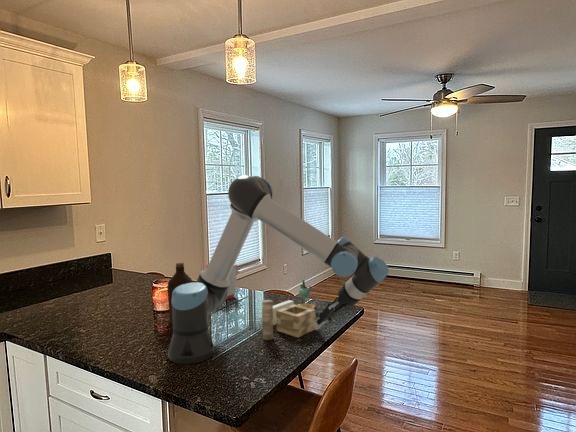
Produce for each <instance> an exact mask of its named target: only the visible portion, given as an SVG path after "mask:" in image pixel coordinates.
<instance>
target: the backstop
mask: <svg viewBox="0 0 576 432" xmlns="http://www.w3.org/2000/svg"><path fill="white" fill-rule="evenodd" d="M293 304H295V300H290V299H288V300H285V301H282V302H280V303H277V304H273V326H274V325H277V321H276V311H277V310H280V309H282V308H285V307H288V306H291V305H293Z"/></svg>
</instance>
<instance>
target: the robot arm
mask: <svg viewBox="0 0 576 432" xmlns="http://www.w3.org/2000/svg"><path fill="white" fill-rule="evenodd" d="M272 187H273V186H272V185H271V184H270V182H269V181H268V180H267V179H266V178H264V177H260V176H259V175H253V176H252V175H251V176H250V175H240V176H238V177H237V178H235V179H234V180H233V181H232V182H231V183H230V184H229V186H228V190H227V191H228V192H227V195H228V200H229V202H230V205H229V206H230V209H231V213H230V216H229V218H228V220H227V222H226V225H225V226H224V229H223V231H222V234H221V236H220V238H219V241H218V242H217V245H216V246H215V247H216V248H215V249H214V251H213V254H212V256H211V259H210V261H209V263H208V264H209V265H208V264H207V265H208V267H207V269H206V268H205V269H202V270H201V271H200V272H199V275H198V278H197V279H196V282H194V281H193V282H192V283H186V284H182V285H180V286H178V287H176V288H175V289H174V290H173V292H172V300H171V304H172V320H173V325H172V336H171V340H170V343H169V347H168V350H167V356H168V360H169V361H171V362H172V363H176V364H179V365H181V364H182V365H191V364H192V365H193V364H199V363H200V362H204V361H207V360H208V359H210V358H211V357H212V356H214V354H215V345H214V341H213V339H212V336H211V334H210V331H209V315H210V314H211V313H213V312H214V311H215V310H217V309H219V308H220V307H221V306H222V305H223V304H224V303H225V301H227V300H226V298H227V295H228V287H229V285H230V281H229V279H228V277H229V275H230V273H231V271H232V269H233V267H234V266H235V265H236V262H237V260H238V257H239V256H240V253H241V251H242V250H243V249H242V248H243V246H244V244H245V242H246V240H247V238H248V236H249V233H250V231H251V229H252V227H253V225H254V223H255V222H256V221H258V220H259V221H261V222H262V223H263V224H265V225H267V226H268V227H269V228H271V229H273V230H274V231H276V232H277V233H279V234H280V235H282V236H283V237H285V238H286V239H287V240H289V241H290V242H292V243H294V244H295V245H297V246H299V247H300V248H302V249H303V250H305V251H306V252H308V253H309V254H311V255H312V256H313V257H315V258H317V259H318V260H319V261H321V262H322V263H324V264H326V265H327V266H328V267H330V268H331V270H332V271H333V273H334V274H335V275H336V276H338V277H340V278H347V277H350V278H349V279H348V280H347V281H346V282H345V283H344V284H343V285H342V286H341V287H340V288H339V289H338V291H337V292H338V293H337V294H338V296H337V297H336V298H334V300H333V301H332V302H331V303H328V304H327V305H326V307H325V308H324V309H323V310H322V312H320V313H319V314H318V318H316V321H315V322H314V323H313V324H312V325H313V327H314V328H315V330H314V331H318V330H320V328H321V327H322V326H324V325H325V323H327V322H330V321H332V318H334V317H335V316H336V315H338V314H339V313H340V312H341V311H342V310H343V309H345V308H347V306H348V307H354V306H355V305H357V304H358V302H360V300H362V299H363V298H367V294H368V293H370V292H371V291H372V290H373V289H374V288H375V287H377V285H379V284H380V283H382V281H383V280H384V279H385V278H386V277H387V276H388V275H389V271H390V269H389V266H388V265H387V263H386V262H385V261H384V260H383V259H382V258H380V257H378V256H373V257H368V256H367V255H365V254H364V253H363V252H362V251H361V250H360V249H359V248H358V247H357V246H356V245H354V244H353V243H352V241H351V240H349V239H348V238H347V237H345V236H342V237H340V238H339V239H338V240H337V241H336V240H335V239H334V238H332V237H330V236H328V235H327V234H325V233H324V232H322V231H321V230H319V229H317V228H316V227H315V226H314V225H311V224H310V223H309V222H307V221H305V220H304V219H303V218H302V217H299V216H298V215H296V214H295V213H293V212H291V211H290V210H288V209H287V208H286V207H284V206H282V204H279V203H278V202H276V201H275V200H273V196H274V191H273V188H272Z"/></svg>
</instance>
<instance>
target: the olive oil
mask: <svg viewBox="0 0 576 432" xmlns="http://www.w3.org/2000/svg"><path fill="white" fill-rule="evenodd" d="M184 265H185V264H184V262H176V264H175V273H174V275H172V277H171V278H170V279H169V281H168V282H167V287H166V289H167V297H168V311H169V312H168V313H169V323H170V325H172V326H173V320H172V304H171V300H172V292H173V290H174V289H175V288H176V287H178V286H180V285H182V284H186V283H192V282H194V281H193V279H192V278H191V277H190V276H189V275H188V274H187V273H186V272H185V266H184Z"/></svg>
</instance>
